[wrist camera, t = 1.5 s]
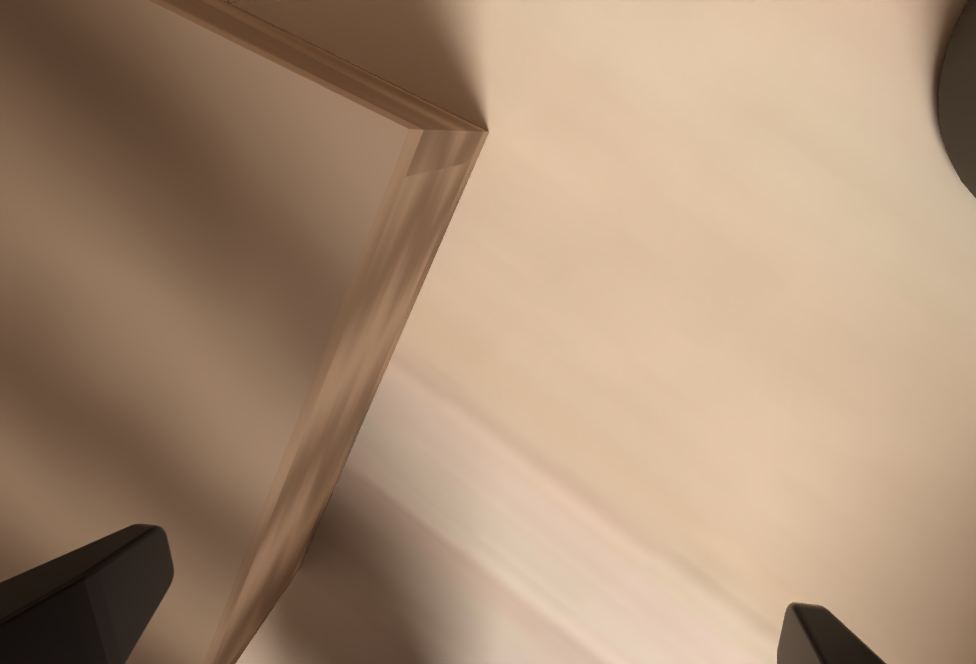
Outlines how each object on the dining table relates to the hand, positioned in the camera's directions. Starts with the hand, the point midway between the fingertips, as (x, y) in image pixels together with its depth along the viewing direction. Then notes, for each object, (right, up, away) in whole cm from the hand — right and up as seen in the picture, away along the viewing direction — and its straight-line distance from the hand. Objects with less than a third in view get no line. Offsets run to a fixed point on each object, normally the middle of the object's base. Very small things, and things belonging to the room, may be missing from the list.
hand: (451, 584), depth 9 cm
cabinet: (-8, +4, +14) cm, 17 cm away
